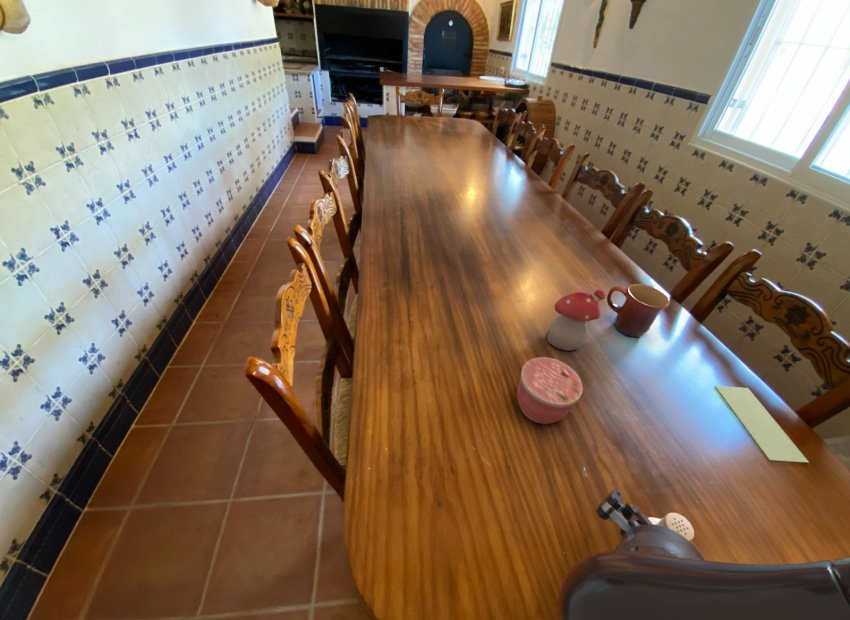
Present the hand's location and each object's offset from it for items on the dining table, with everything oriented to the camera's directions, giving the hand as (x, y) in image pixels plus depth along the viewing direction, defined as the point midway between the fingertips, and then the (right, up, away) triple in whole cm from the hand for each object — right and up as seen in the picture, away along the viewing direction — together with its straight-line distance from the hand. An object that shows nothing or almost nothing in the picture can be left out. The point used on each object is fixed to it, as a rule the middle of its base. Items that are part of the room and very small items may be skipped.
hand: (663, 544), depth 43 cm
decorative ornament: (+2, +21, +38) cm, 44 cm away
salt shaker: (+2, -6, +7) cm, 9 cm away
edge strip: (+35, +7, +25) cm, 43 cm away
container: (-7, +10, +24) cm, 27 cm away
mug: (+19, +24, +44) cm, 54 cm away
